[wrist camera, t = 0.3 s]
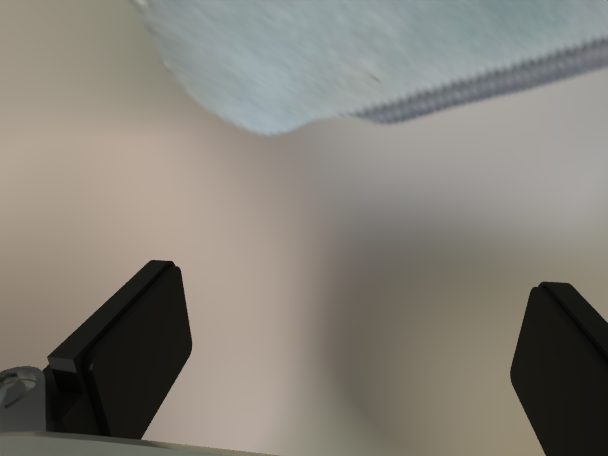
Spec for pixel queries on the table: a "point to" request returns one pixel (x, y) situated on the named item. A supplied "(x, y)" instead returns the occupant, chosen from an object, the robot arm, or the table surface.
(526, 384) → the robot arm
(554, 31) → the table surface
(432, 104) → the table surface
